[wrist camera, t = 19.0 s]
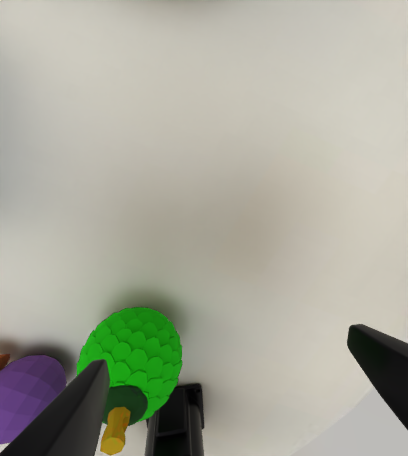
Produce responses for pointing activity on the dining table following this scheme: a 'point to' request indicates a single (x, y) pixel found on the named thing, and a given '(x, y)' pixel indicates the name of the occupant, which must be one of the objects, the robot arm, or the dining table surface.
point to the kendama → (26, 391)
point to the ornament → (133, 368)
